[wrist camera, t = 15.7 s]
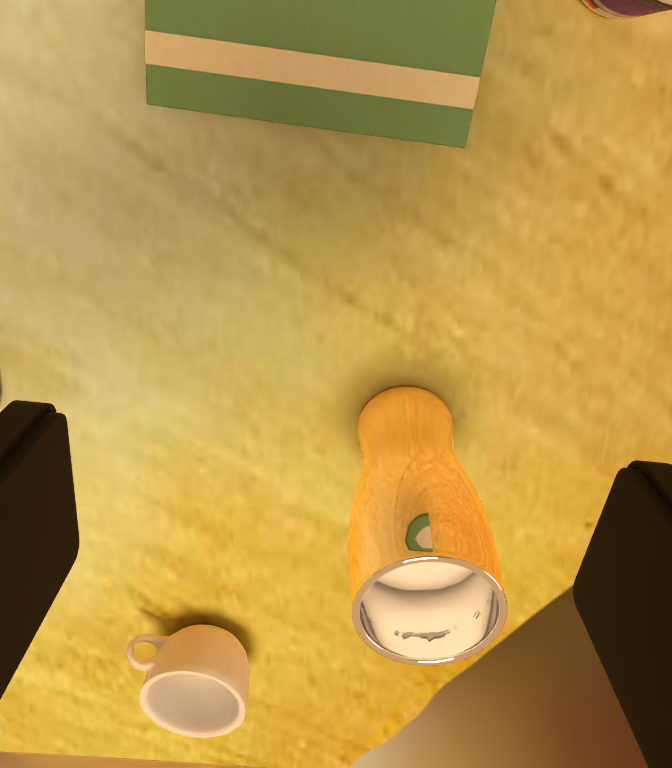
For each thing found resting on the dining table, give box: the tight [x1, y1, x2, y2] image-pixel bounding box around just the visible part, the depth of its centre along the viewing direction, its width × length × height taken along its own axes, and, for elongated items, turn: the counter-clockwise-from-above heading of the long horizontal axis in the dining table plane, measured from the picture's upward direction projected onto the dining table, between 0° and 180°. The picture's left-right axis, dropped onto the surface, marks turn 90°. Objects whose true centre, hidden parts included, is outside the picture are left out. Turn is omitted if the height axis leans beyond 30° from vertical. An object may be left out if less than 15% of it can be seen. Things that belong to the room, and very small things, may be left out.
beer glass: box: [348, 387, 507, 666], centre depth 32 cm, size 7×7×15 cm
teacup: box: [126, 624, 249, 738], centre depth 46 cm, size 10×8×5 cm
